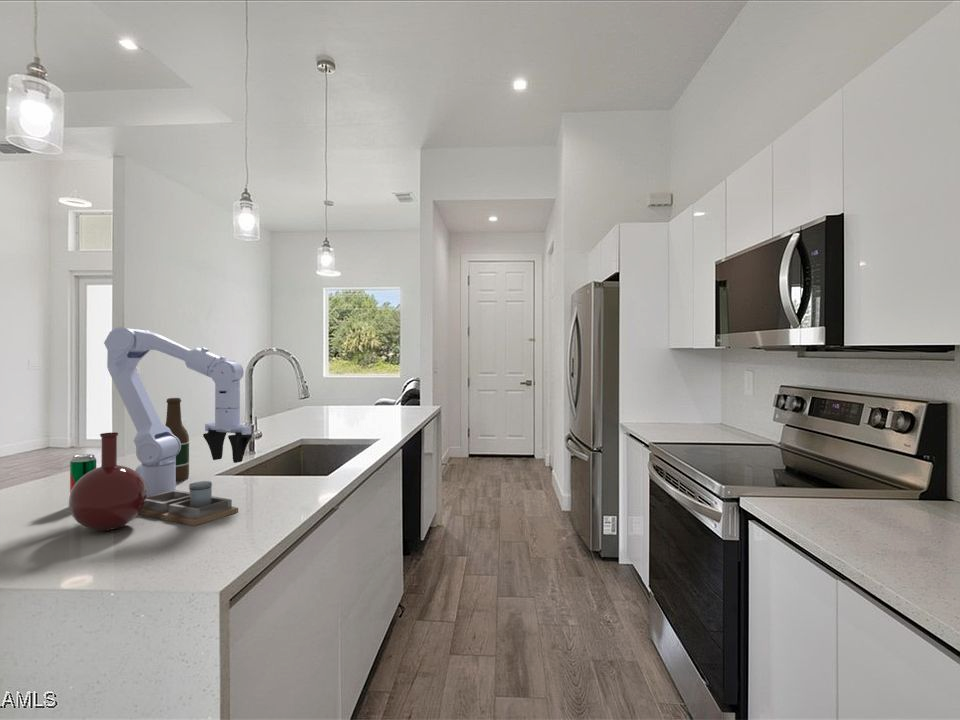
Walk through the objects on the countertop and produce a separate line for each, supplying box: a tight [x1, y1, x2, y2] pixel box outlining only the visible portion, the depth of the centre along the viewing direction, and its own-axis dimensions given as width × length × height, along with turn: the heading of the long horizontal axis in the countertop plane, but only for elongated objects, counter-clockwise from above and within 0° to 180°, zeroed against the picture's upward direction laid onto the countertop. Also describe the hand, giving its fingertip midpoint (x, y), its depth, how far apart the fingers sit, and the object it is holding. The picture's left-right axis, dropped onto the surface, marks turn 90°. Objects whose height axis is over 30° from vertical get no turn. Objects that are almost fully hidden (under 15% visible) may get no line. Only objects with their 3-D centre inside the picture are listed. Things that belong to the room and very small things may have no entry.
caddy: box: [138, 489, 239, 527], centre depth 118 cm, size 22×11×3 cm, turn 65°
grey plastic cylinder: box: [188, 480, 213, 508], centre depth 115 cm, size 4×4×6 cm
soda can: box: [69, 453, 97, 494], centre depth 123 cm, size 5×5×12 cm
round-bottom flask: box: [68, 432, 147, 532], centre depth 106 cm, size 13×13×20 cm
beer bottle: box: [164, 397, 190, 483], centre depth 148 cm, size 8×8×24 cm
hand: (227, 460), depth 130 cm, fingers open, 7 cm apart
